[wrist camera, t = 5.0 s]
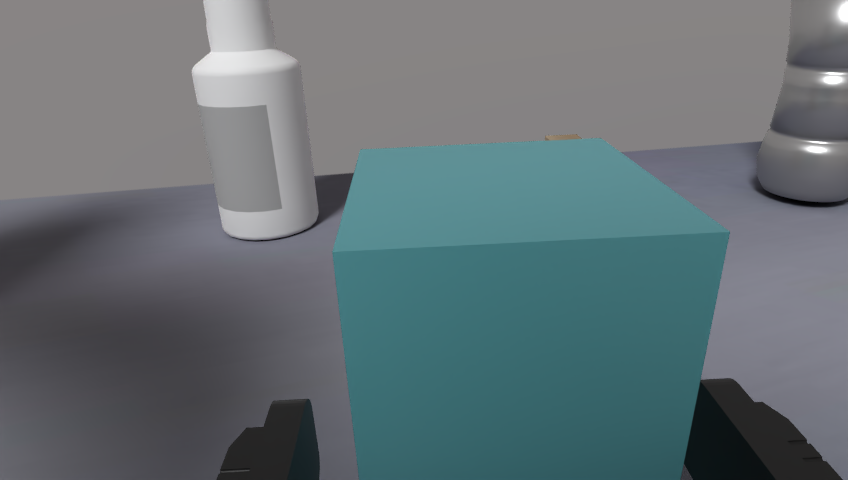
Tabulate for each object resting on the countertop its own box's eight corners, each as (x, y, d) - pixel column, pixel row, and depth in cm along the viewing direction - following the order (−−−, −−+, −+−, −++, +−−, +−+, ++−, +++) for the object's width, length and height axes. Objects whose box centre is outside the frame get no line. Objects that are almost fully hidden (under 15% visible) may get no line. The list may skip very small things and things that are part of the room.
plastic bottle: (835, 220, 37) (937, -138, 29) (732, 195, 42) (793, -116, 34) (872, 198, 40) (971, -128, 32) (772, 177, 45) (837, -109, 37)
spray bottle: (227, 212, 43) (176, -50, 36) (317, 202, 44) (285, -53, 37) (217, 248, 37) (153, -60, 30) (321, 235, 38) (284, -63, 31)
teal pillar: (387, 720, 12) (332, 252, 8) (392, 508, 18) (360, 149, 13) (635, 704, 13) (730, 231, 8) (568, 498, 18) (600, 137, 13)
